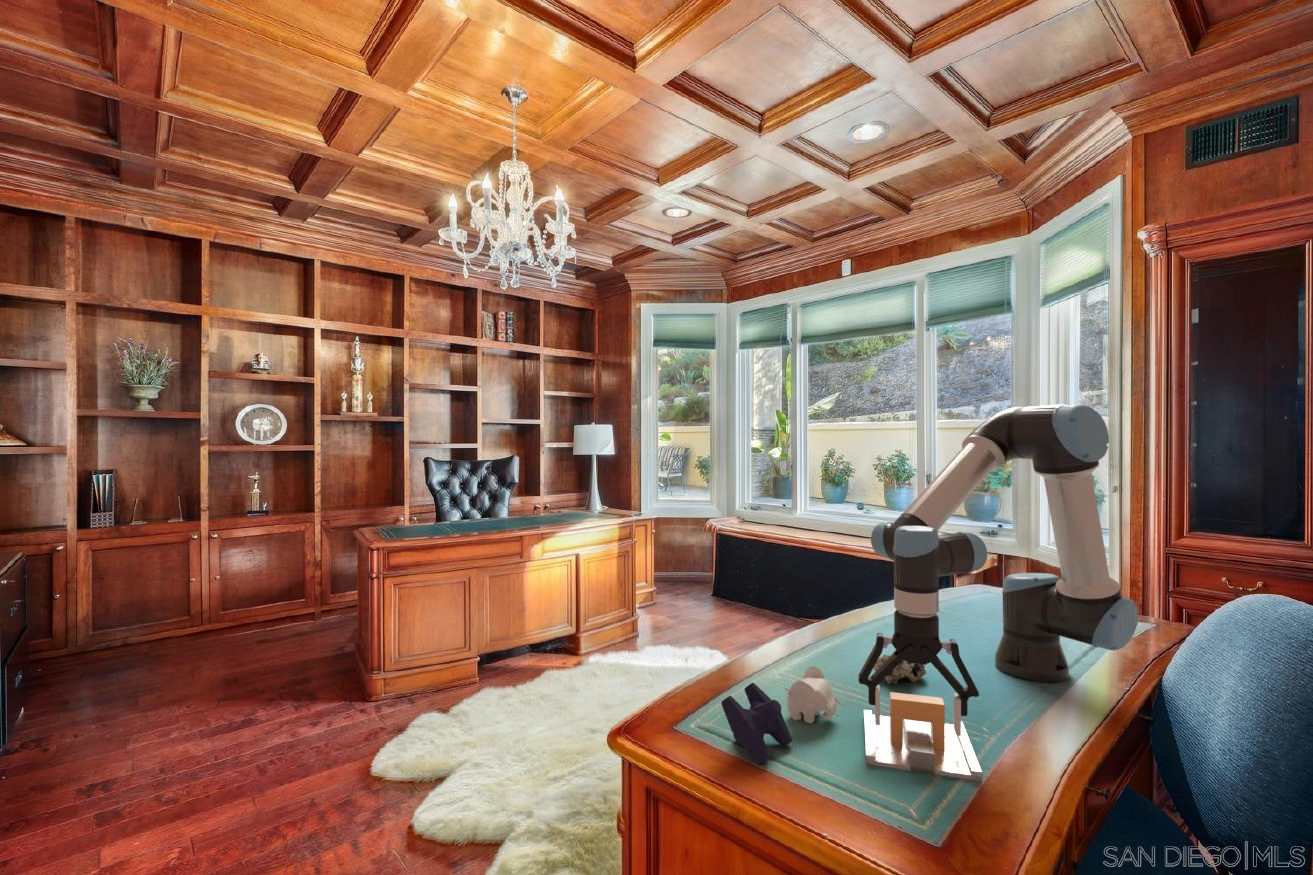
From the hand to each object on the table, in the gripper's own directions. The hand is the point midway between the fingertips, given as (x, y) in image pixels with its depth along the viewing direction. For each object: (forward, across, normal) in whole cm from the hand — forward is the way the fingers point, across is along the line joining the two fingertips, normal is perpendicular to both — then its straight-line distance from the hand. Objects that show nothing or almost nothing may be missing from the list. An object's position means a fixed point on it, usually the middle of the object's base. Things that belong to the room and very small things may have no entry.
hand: (916, 727), depth 110 cm
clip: (+3, 0, 0) cm, 3 cm away
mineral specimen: (+4, 0, -32) cm, 32 cm away
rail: (+3, 0, 0) cm, 3 cm away
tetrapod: (+4, +28, +9) cm, 30 cm away
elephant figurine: (+4, +19, -6) cm, 20 cm away
